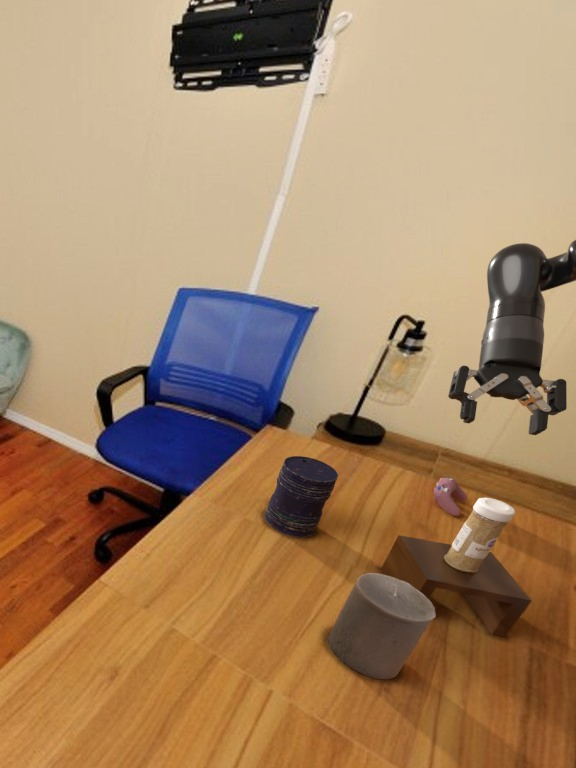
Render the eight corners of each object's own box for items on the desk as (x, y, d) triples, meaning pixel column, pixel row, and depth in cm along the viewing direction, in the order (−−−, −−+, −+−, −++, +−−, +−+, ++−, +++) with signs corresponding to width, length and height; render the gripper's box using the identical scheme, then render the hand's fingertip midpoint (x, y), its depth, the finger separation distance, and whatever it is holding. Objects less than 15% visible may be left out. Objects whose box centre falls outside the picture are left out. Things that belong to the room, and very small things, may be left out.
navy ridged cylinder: (323, 539, 109) (349, 483, 102) (274, 535, 111) (296, 480, 104) (302, 510, 118) (323, 457, 111) (256, 507, 120) (275, 454, 113)
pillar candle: (319, 650, 86) (351, 587, 79) (337, 619, 91) (368, 557, 84) (391, 692, 79) (433, 626, 72) (406, 656, 84) (446, 592, 78)
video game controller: (442, 499, 124) (436, 472, 123) (468, 500, 120) (463, 472, 119) (433, 516, 118) (427, 488, 117) (460, 517, 114) (455, 489, 114)
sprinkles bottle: (471, 577, 88) (511, 517, 82) (438, 561, 91) (473, 502, 85) (481, 567, 90) (520, 507, 84) (448, 552, 93) (483, 493, 87)
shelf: (468, 587, 97) (491, 552, 93) (504, 637, 87) (532, 600, 83) (380, 569, 102) (398, 534, 98) (405, 615, 92) (426, 579, 88)
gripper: (470, 330, 92) (458, 411, 89) (582, 343, 86) (575, 431, 82) (449, 348, 99) (437, 424, 95) (552, 361, 92) (544, 443, 89)
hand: (501, 427), depth 89 cm, fingers open, 8 cm apart
